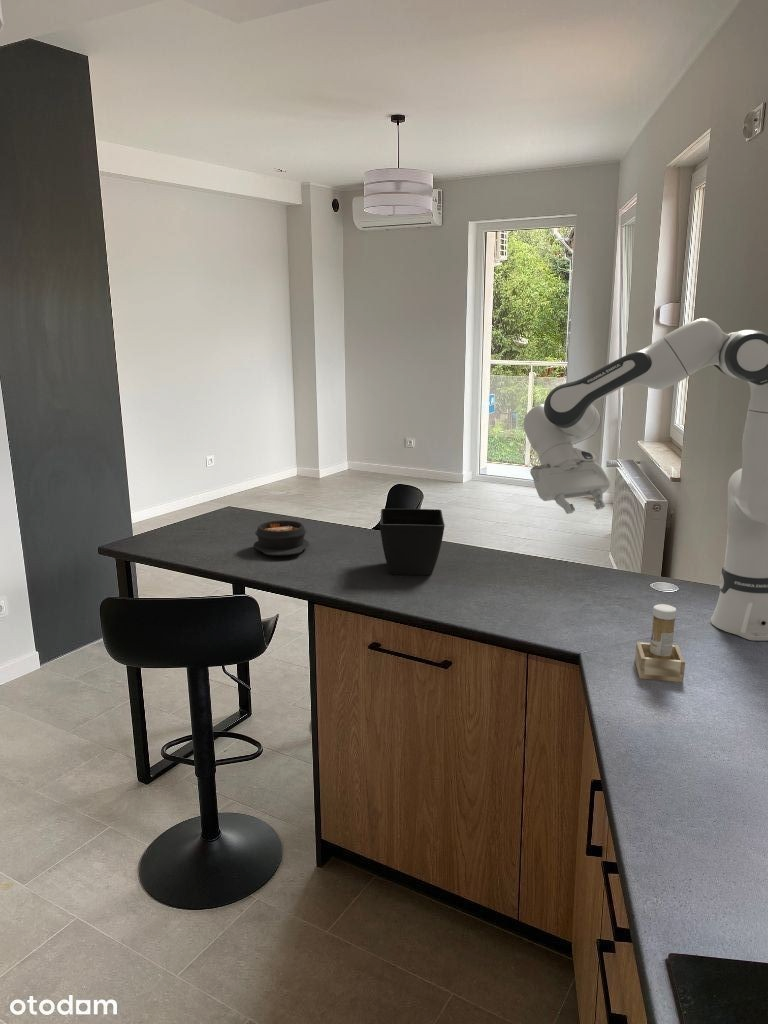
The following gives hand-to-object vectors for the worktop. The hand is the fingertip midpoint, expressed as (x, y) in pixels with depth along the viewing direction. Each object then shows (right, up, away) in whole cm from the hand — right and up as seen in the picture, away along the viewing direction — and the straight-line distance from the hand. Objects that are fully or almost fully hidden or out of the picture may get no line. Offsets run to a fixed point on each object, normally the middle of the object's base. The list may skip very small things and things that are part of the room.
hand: (586, 510), depth 173 cm
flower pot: (-40, -18, +51) cm, 67 cm away
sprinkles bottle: (+11, -34, -18) cm, 40 cm away
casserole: (-82, -13, +70) cm, 109 cm away
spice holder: (+10, -34, -18) cm, 40 cm away
